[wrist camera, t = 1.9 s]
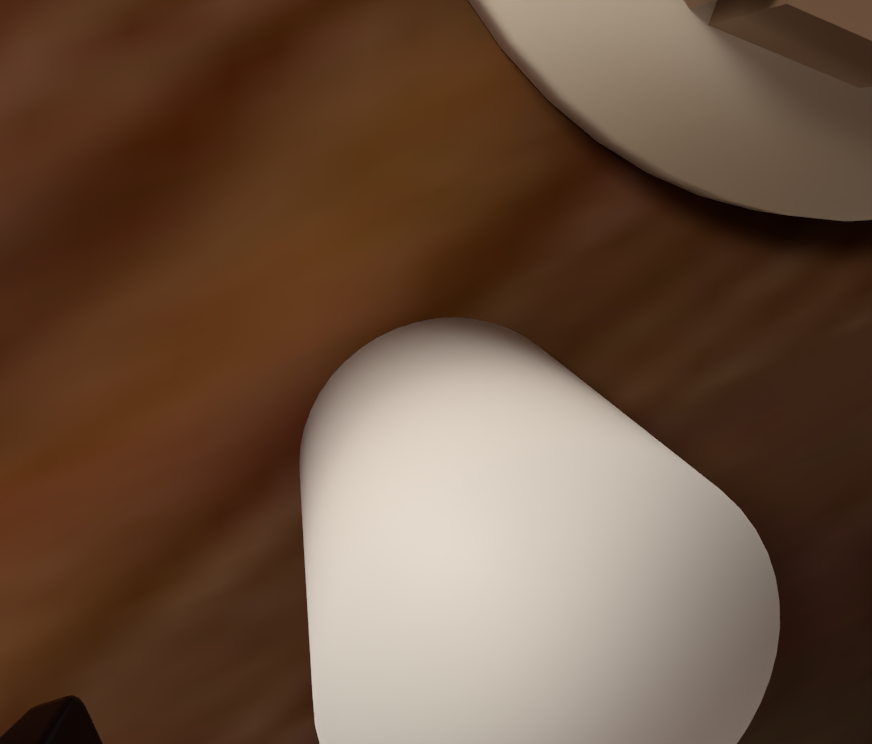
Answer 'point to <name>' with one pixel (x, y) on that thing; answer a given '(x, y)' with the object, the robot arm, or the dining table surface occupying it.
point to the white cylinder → (518, 558)
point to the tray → (712, 92)
